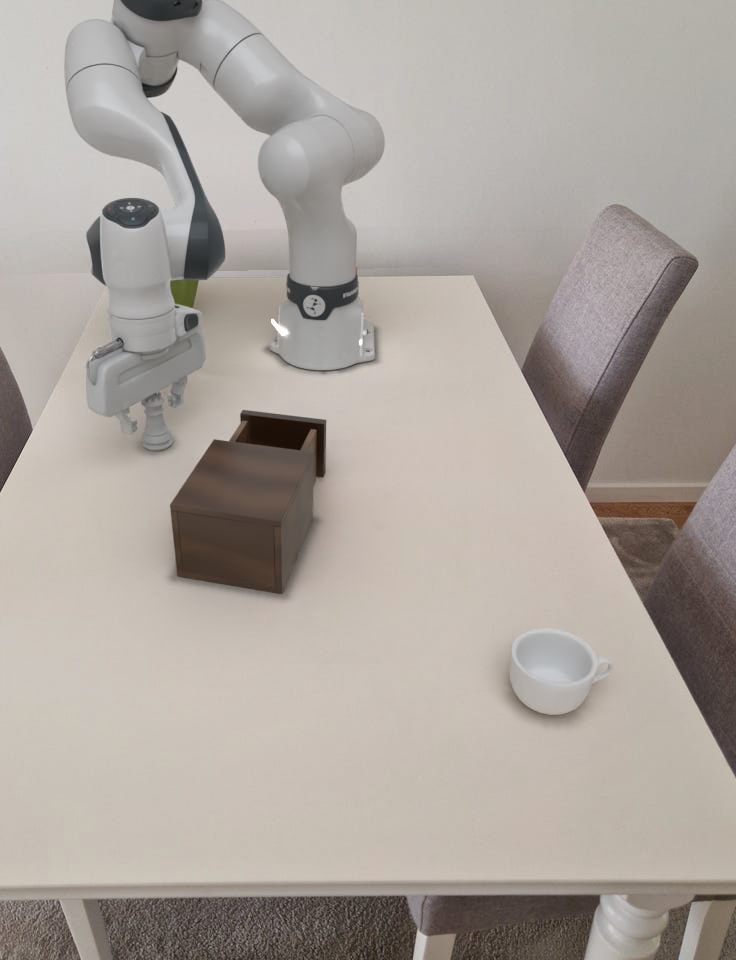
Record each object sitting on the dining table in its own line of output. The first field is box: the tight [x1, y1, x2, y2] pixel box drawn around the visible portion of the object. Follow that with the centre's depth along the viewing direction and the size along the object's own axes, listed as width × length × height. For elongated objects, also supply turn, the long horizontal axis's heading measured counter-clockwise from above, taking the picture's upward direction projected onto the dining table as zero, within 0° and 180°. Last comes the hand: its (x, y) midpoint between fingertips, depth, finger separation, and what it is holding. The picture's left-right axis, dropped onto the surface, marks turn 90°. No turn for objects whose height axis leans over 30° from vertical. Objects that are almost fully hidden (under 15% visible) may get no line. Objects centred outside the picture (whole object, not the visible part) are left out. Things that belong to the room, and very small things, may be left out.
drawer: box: [228, 409, 327, 488], centre depth 109 cm, size 18×11×8 cm, turn 165°
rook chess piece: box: [140, 391, 174, 452], centre depth 120 cm, size 4×4×8 cm
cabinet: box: [169, 438, 314, 595], centre depth 99 cm, size 15×13×10 cm
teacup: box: [508, 627, 615, 716], centre depth 80 cm, size 10×8×5 cm
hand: (153, 418), depth 120 cm, fingers open, 8 cm apart
